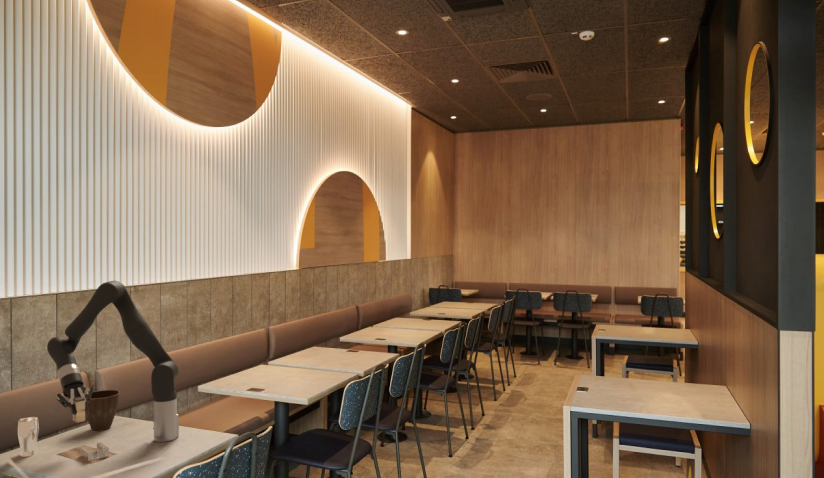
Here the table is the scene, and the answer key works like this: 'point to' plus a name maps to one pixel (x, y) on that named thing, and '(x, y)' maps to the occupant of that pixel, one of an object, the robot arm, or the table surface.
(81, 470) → the table surface
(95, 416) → the plant pot
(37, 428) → the beer glass
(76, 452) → the board
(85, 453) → the clip
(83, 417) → the grey-topped wooden block
